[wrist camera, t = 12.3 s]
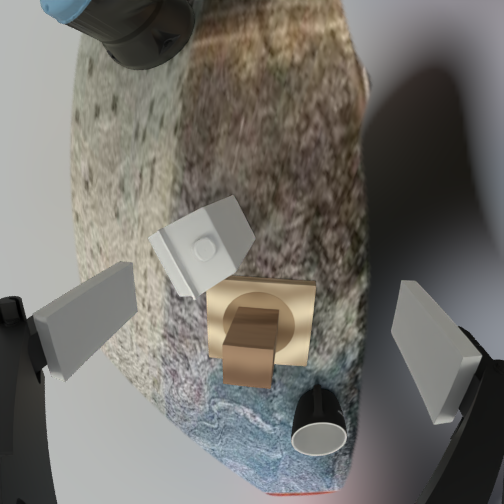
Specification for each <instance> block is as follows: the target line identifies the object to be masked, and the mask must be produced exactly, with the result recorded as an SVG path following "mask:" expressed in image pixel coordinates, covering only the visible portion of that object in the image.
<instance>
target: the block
mask: <svg viewBox="0 0 504 504" xmlns="http://www.w3.org/2000/svg"><path fill="white" fill-rule="evenodd" d="M278 321H279V310H277V309H264V308H251V307H238V309H237V312H236V314H235V316H234V319H233V321H232V323H231V326H230V328H229V330H228V333H227V335H226V337H225V340H224V342H223V344H222V355H223V384H231V385H239V386H248V387H258V388H268V389H271V382H272V375H273V368H274V361H275V354H276V347H277V335H278Z"/></svg>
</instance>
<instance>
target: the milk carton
mask: <svg viewBox="0 0 504 504" xmlns="http://www.w3.org/2000/svg"><path fill="white" fill-rule="evenodd" d="M148 239H149V241H150V243H151V245H152V247H153V249H154V251H155V253H156V254H157V256H158V258H159V260H160V262H161V264H162V266H163V267H164V269H165V271H166V273H167V275H168V276H169V278H170V280H171V282H172V284H173V285H174V287H175V289H176V291H177V292H178V294H179V296H192V297H193V299H194V300H196V299H197V298H198V296H199V295H200V294H202V293H204V292H205V291H207V290H208V289H210V288H211V287H213V286H215V285H216V284H218V283H219V282H221V281H222V280H224V279H226V278H227V277H229V276H230V275H232V274H233V273H235V272H236V271H237V269H238V268H239V266H240V264H241V263H242V261H243V259H244V258H245V256H246V254H247V253H248V251H249V249H250V248H251V246H252V244H253V242H254V241H255V239H256V238H255V236H254V233H253V232H252V230H251V228H250V226H249V224H248V222H247V220H246V218H245V216H244V214H243V212H242V210H241V208H240V206H239V204H238V202H237V200H236V198H235V196H234V195H231V196H229V197H226V198H224V199H221V200H219V201H217V202H214V203H212V204H209V205H207V206H204V207H202V208H200V209H198V210H196V211H194V212H192V213H190V214H188V215H186V216H184V217H183V218H181V219H179V220H177V221H175V222H173V223H171V224H169V225H167V226H165V227H164V228H162V229H159V230H158V231H157V232H156V233H154V234H153V235H151V236H149V237H148Z"/></svg>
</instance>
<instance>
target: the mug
mask: <svg viewBox="0 0 504 504" xmlns="http://www.w3.org/2000/svg"><path fill="white" fill-rule="evenodd" d="M346 439H347V431H346V425H345V420H344V416H343V413H342V410H341V407H340V404H339V402H338V400H337V398H336V397H335V395H334V394H333V393H331V392H330V391H328V390H325V389H321V385H319V384H317V385H314V390H311V391H308V392H307V393H305V394H304V395H303V396H302V397H301V399H300V400H299V402H298V405H297V408H296V412H295V416H294V420H293V426H292V434H291V442H292V445H293V447H294V448H295V449H296V450H297V451H299V452H300V453H303V454H306V455H311V456H321V455H327V454H330V453H333V452H335V451H337V450H338V449H340V448H341V447H342V446H343V445H344V443H345V442H346Z"/></svg>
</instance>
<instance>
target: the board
mask: <svg viewBox="0 0 504 504" xmlns="http://www.w3.org/2000/svg"><path fill="white" fill-rule="evenodd" d="M315 291H316V282H315V281H305V280H289V279H274V278H259V277H245V276H231V275H230V276H229V277H227V278H226V279H224V280H222V281H221V282H219V283H218V284H216V285H215V286H213V287H211V288H210V289H208V290H207V291H206V294H207V324H208V347H209V357H213V358H221V359H223V355H222V344H223V342H224V340H225V337H226V335H227V333H228V330H229V328H230V326H231V323H232V321H233V319H234V316H235V314H236V312H237V309H238V307H251V308H264V309H277V310H279V321H278V335H277V347H276V354H275V361H274V364H281V365H296V366H306V365H307V358H308V351H309V343H310V335H311V327H312V319H313V310H314V301H315Z"/></svg>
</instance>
